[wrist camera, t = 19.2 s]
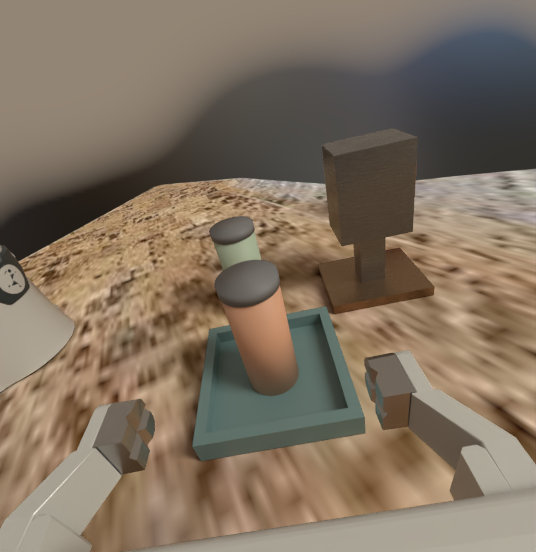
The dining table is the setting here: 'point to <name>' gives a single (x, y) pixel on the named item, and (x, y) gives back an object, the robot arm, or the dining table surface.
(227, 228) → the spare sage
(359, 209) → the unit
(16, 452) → the dining table surface
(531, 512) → the robot arm
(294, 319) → the tray
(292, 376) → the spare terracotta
